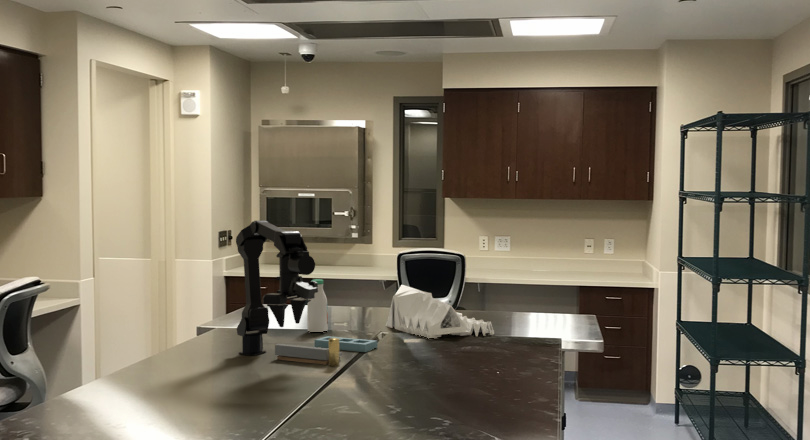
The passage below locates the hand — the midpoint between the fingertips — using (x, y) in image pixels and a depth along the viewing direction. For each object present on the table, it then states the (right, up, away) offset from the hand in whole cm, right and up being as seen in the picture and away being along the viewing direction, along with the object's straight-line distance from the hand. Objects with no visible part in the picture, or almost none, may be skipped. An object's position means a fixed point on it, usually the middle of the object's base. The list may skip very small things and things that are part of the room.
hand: (289, 325), depth 217 cm
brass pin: (+13, -12, 0) cm, 18 cm away
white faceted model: (+48, -12, +66) cm, 82 cm away
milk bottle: (+1, -12, +61) cm, 62 cm away
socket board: (+14, -12, +28) cm, 34 cm away
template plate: (+4, -12, +9) cm, 16 cm away
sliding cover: (+4, -11, +9) cm, 15 cm away
